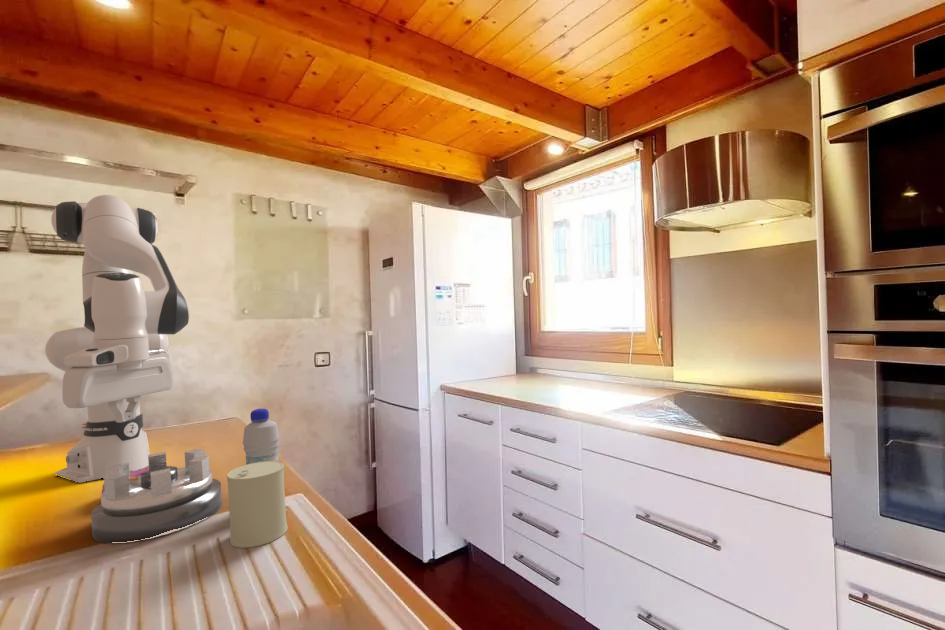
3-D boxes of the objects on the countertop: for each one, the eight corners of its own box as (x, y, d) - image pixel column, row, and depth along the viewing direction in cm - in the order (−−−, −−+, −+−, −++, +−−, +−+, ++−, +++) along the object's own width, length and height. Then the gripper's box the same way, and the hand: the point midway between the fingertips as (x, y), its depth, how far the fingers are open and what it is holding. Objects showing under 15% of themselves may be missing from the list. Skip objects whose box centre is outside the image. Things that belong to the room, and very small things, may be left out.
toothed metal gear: (140, 521, 77) (138, 483, 77) (79, 508, 84) (77, 474, 84) (232, 482, 94) (230, 451, 94) (174, 475, 101) (173, 446, 101)
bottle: (268, 514, 87) (263, 412, 87) (238, 513, 88) (233, 412, 88) (289, 500, 94) (284, 405, 94) (261, 499, 95) (256, 405, 95)
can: (217, 544, 76) (213, 474, 76) (260, 519, 85) (256, 456, 85) (258, 551, 73) (254, 478, 73) (298, 525, 82) (295, 460, 82)
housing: (63, 537, 82) (62, 515, 82) (171, 492, 102) (171, 474, 102) (147, 549, 76) (146, 525, 76) (245, 499, 96) (244, 479, 96)
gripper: (156, 348, 101) (159, 408, 101) (53, 358, 81) (58, 434, 82) (179, 347, 100) (182, 409, 100) (81, 358, 80) (85, 435, 80)
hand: (125, 420), depth 91 cm, fingers closed
